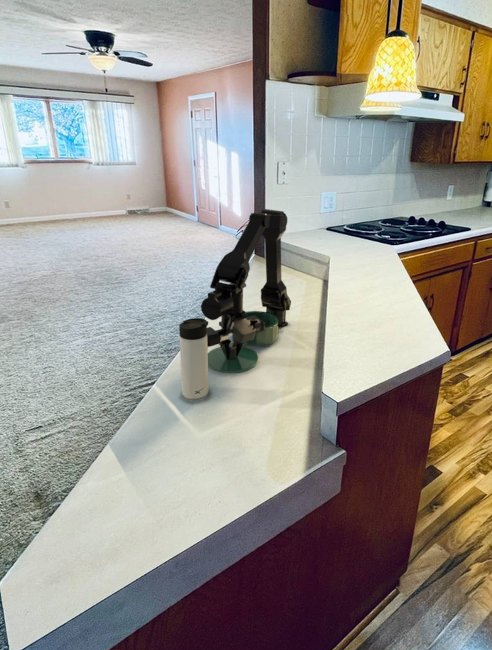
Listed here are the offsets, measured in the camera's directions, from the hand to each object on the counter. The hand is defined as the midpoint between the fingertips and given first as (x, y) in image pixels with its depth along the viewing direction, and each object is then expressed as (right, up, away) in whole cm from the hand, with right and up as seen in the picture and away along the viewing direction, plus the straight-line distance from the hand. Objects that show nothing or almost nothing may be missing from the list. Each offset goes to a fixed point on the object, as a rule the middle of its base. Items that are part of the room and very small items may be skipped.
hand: (231, 357), depth 116 cm
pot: (+6, +4, +15) cm, 16 cm away
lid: (0, -1, 0) cm, 1 cm away
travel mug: (-7, -7, -15) cm, 18 cm away
